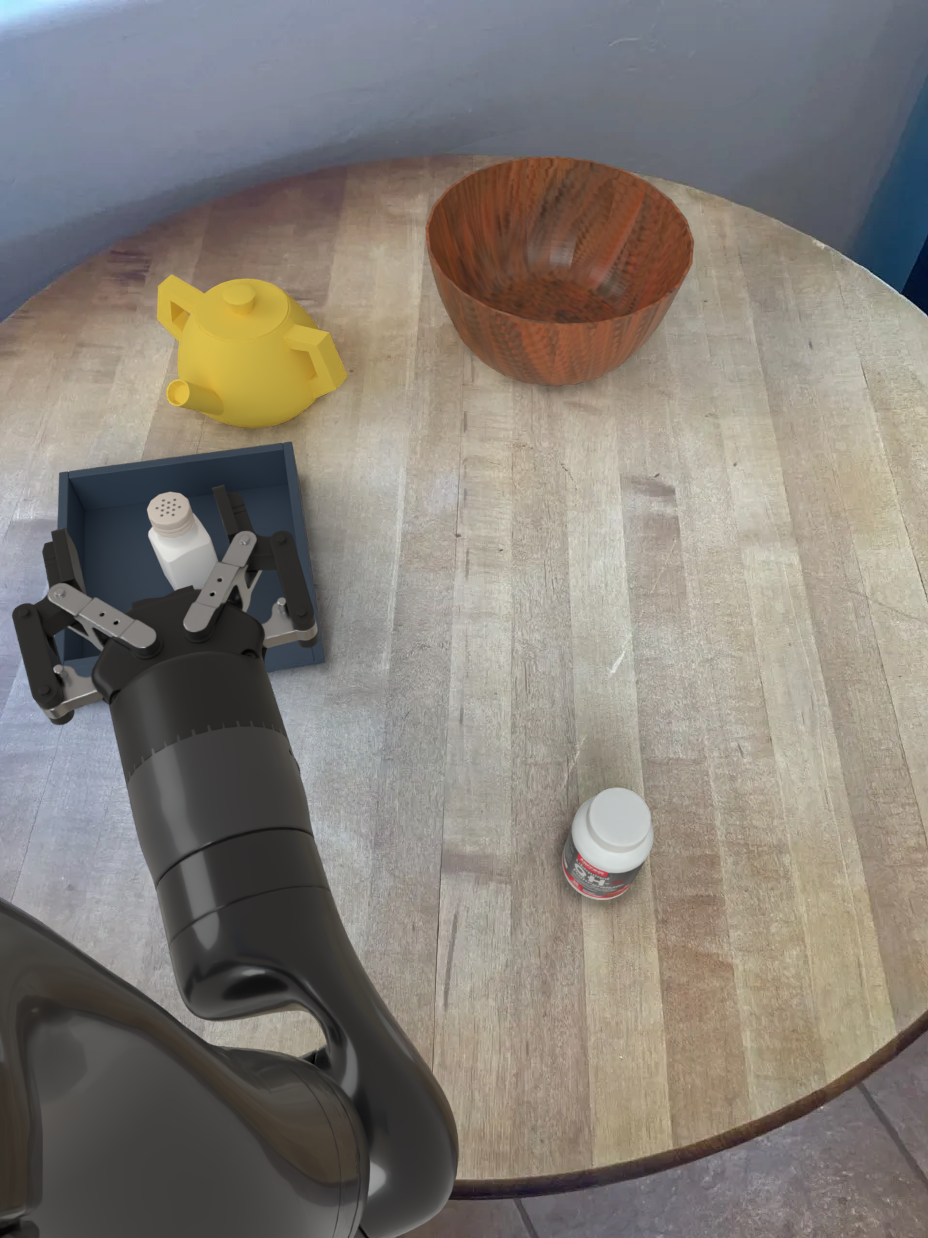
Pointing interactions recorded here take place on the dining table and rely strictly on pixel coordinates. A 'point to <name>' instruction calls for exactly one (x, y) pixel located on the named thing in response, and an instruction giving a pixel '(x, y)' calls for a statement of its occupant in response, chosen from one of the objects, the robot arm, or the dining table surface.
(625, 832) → the pill bottle
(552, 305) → the bowl
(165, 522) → the salt shaker
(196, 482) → the tray
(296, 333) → the teapot
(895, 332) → the dining table surface
